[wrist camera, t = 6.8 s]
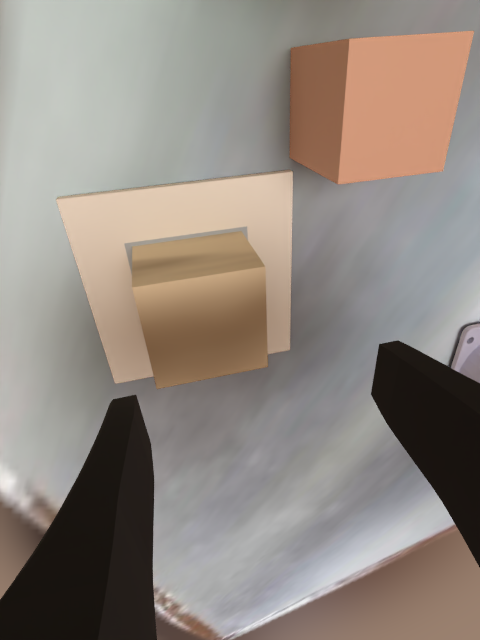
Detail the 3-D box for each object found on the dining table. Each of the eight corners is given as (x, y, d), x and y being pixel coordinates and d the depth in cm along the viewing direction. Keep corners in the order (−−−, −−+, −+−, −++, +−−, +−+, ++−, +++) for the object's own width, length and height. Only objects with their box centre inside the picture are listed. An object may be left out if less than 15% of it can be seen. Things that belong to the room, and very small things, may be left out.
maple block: (246, 320, 21) (268, 366, 17) (153, 337, 20) (156, 389, 17) (241, 230, 18) (265, 266, 15) (132, 246, 17) (132, 287, 14)
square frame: (287, 345, 23) (290, 350, 23) (115, 379, 21) (115, 384, 21) (289, 169, 17) (292, 171, 17) (57, 196, 16) (56, 199, 15)
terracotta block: (371, 148, 18) (443, 171, 14) (289, 157, 17) (337, 184, 13) (384, 41, 16) (474, 30, 11) (290, 47, 15) (349, 38, 11)
